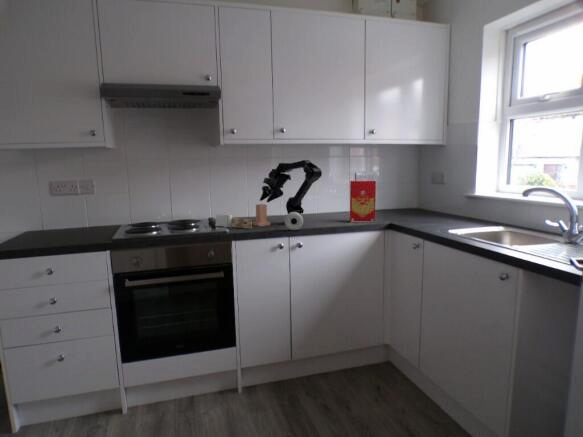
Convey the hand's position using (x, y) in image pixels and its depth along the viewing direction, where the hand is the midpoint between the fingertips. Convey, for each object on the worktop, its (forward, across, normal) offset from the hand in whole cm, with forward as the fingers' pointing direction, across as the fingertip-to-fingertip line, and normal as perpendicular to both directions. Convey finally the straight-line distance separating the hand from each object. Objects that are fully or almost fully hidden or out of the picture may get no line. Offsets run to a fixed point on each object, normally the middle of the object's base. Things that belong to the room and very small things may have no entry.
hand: (263, 201), depth 221 cm
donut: (+7, +29, +12) cm, 32 cm away
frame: (+27, -2, -7) cm, 28 cm away
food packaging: (-29, +26, +48) cm, 62 cm away
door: (+22, +7, -3) cm, 23 cm away
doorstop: (+12, +2, +8) cm, 14 cm away
